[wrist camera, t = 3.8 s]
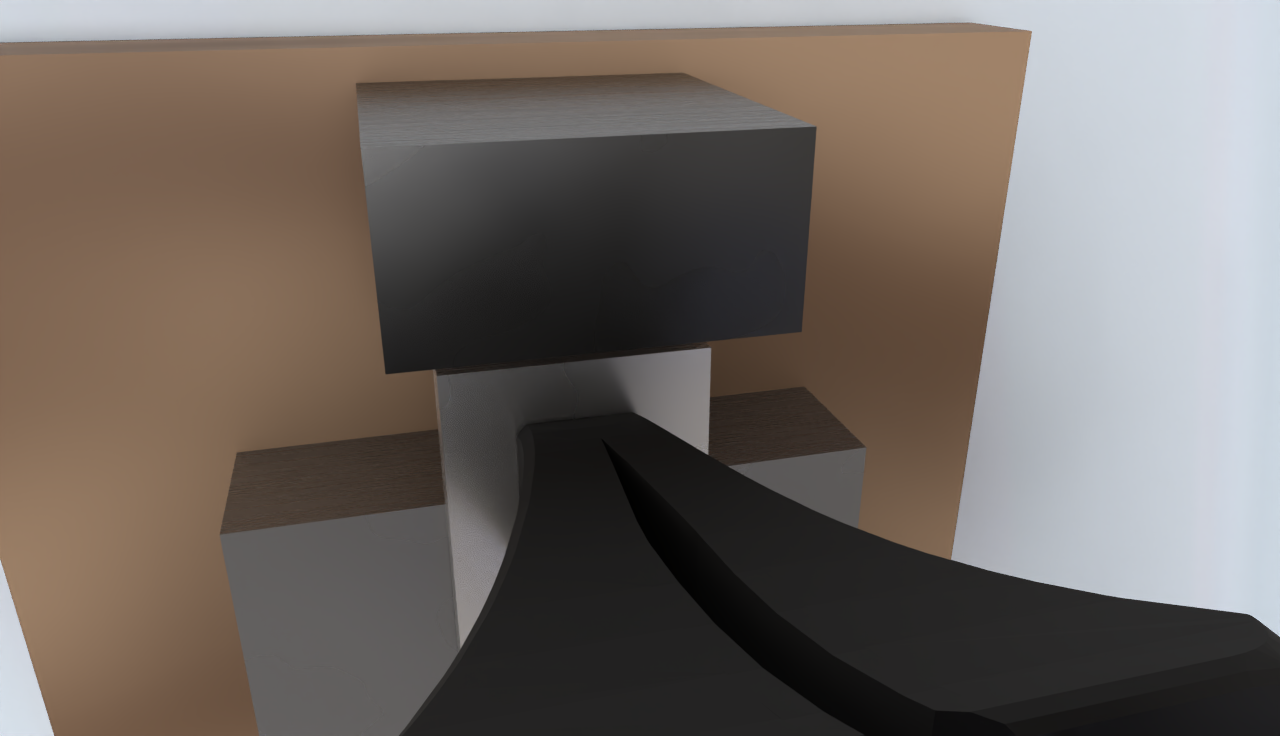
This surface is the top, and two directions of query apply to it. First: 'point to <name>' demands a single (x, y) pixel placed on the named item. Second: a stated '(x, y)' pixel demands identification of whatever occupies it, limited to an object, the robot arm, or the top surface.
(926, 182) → the board
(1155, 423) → the top surface
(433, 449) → the clamp block
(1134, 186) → the top surface
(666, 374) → the grey flat bar
